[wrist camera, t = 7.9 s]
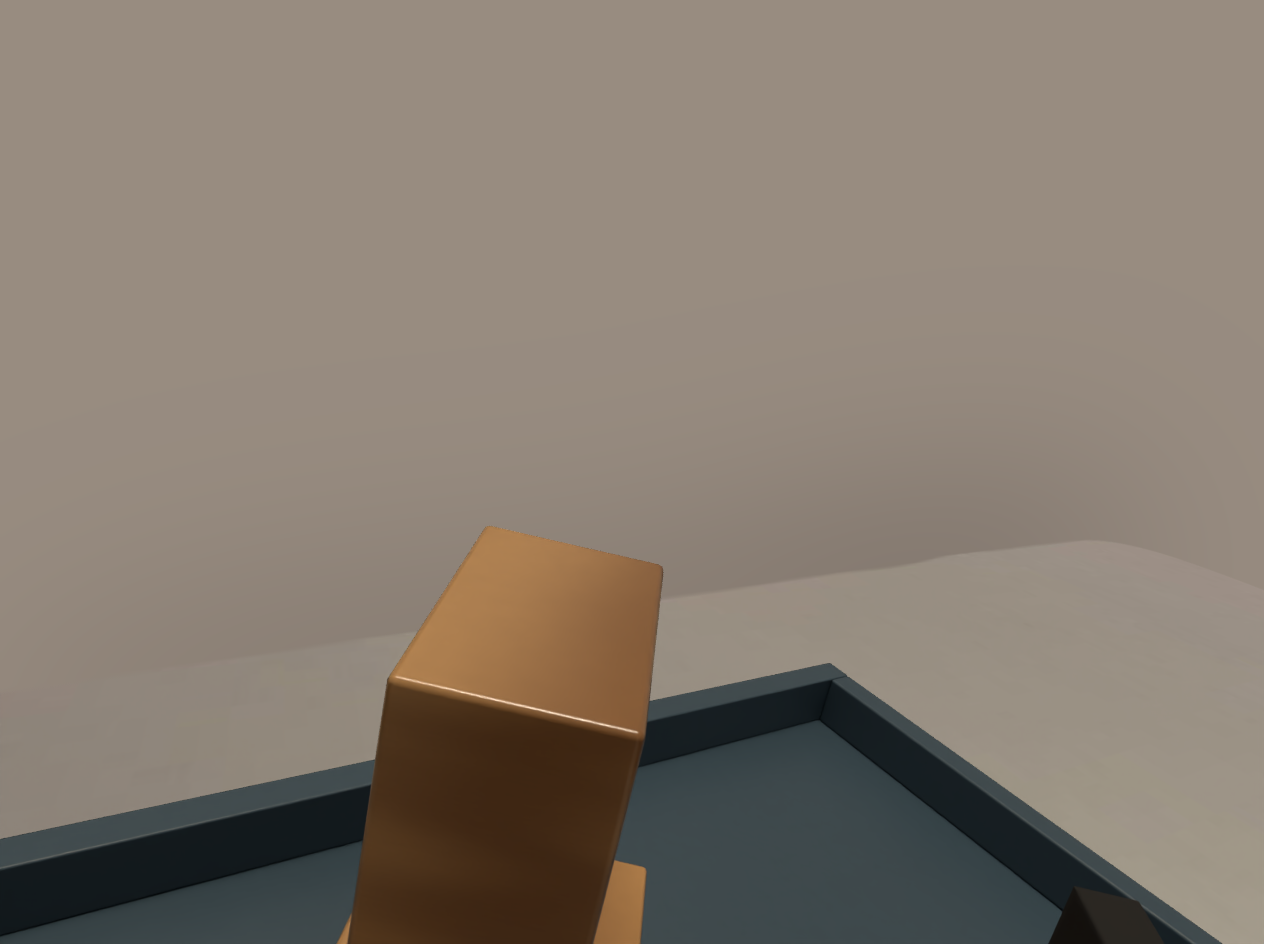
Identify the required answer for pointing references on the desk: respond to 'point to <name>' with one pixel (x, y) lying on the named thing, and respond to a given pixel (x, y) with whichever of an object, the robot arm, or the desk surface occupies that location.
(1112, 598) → the desk surface
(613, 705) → the wooden block on base
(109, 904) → the tray
